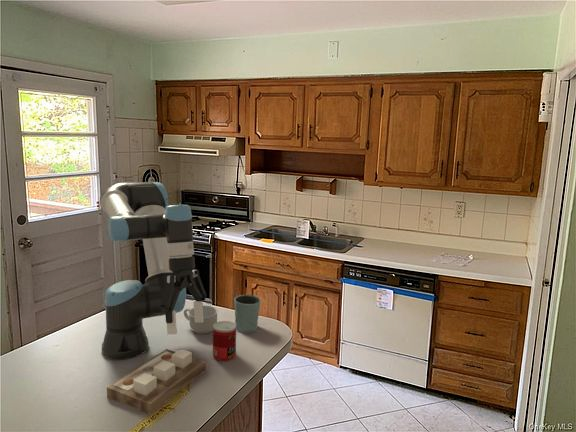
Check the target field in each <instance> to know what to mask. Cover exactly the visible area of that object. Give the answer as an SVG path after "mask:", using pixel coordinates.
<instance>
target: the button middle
mask: <svg viewBox="0 0 576 432" xmlns="http://www.w3.org/2000/svg"><path fill="white" fill-rule="evenodd" d="M153 368H154V376H155V377H157V379H159V380H162V381H165V382H166V381H167V380H169V379H170V378H171V377H173V376H174V375H175V364H173V363H170V362H167V361H164V360H163V361H162V362H160V363H159V364H157V365H156V366H154V367H153Z"/></svg>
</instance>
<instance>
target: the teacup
mask: <svg viewBox="0 0 576 432" xmlns="http://www.w3.org/2000/svg"><path fill="white" fill-rule="evenodd" d="M183 316H184V318H186V320H187V321H188V322H189V327H190V329H191V330H192V331H193V332H194V333H197V334H202V335H203V334H204V335H205V334H208V333H211V332H213V325H214V324H215V323H216V322H218V309H217V308H216V307H215V306H212V305H207V304H205V305H203V321H204V322H202V323H200V322H195V317H194V307H192V308H190V307H186V308H184V309H183Z"/></svg>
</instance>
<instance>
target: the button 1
mask: <svg viewBox="0 0 576 432" xmlns="http://www.w3.org/2000/svg"><path fill="white" fill-rule="evenodd" d="M156 388H157V377H155V376H152V375H149V374H146V373H144V374H142V375H141V376H139V377H138V378H136V379H135V380H133V390H134V392H135V393H138V394H141V395H143V396H147V395H148V394H150V393H151V392H152V391H154V390H155V389H156Z"/></svg>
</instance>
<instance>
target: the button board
mask: <svg viewBox="0 0 576 432" xmlns="http://www.w3.org/2000/svg"><path fill="white" fill-rule="evenodd" d="M175 352H176V351H174V350H172V349H167V348H166V349H164V350H163V351H161V352H160V353H157V354H156V355H155V356H154V357H152V358H150V359H148V360H147V361H146V362H143V364H141V365H139V366H137V367H136V368H135V369H133V370H131V371H130V372H128V373H127V374H125V375H123V376H122V377H121V378H118V379H117V380H115V381H114V382H112V383H111V384H109V385H108V386H107V387H106V397H107V398H109V399H112V400H114V401H117V402H119V403H121V404H124V405H127V406H129V407H132V408H135V409H136V410H138V411H141V412H144V413H146V414H149V415H152V414H153V413H154V412H156V410H158V409H159V408H160V407H161V406H163V405H164V404H165V403H166V402H168V401H169V400H170V399H171V398H173V396H175V395H176V394H178V393H179V392H180V391H181V390H183V389H184V388H185V387H186V386H188V385H189V384H190V383H192V382H193V381H194V380H195V379H196V378H198V377H199V376H200V375H201V374H203V373H204V372H205V371H207V361H206V360H204V359H203V360H202V359H199V358H196V357H194V356H192V363H190V364H189V365H188V366H186V367H185V368H184V369H182V368H179V367H176V366H175V375H174V376H173V377H171V378H170V379H169V380H167V381H166V382H165V381H162V380H159V379H157V388H156V389H155V390H154V391H152V392H151V393H150V394H148V395H147V396H143V395H141V394H138V393H135V392H134V390H133V380H135V379H136V378H138V377H139V376H141V375H142V374H144V373H146V374H149V375H152V376H154V368H153V367H154V366H156V365H157V364H159V363H160V362H162V361H163V360H164V361H167V362H170V363H172V354H174V353H175ZM202 372H203V373H202Z"/></svg>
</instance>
